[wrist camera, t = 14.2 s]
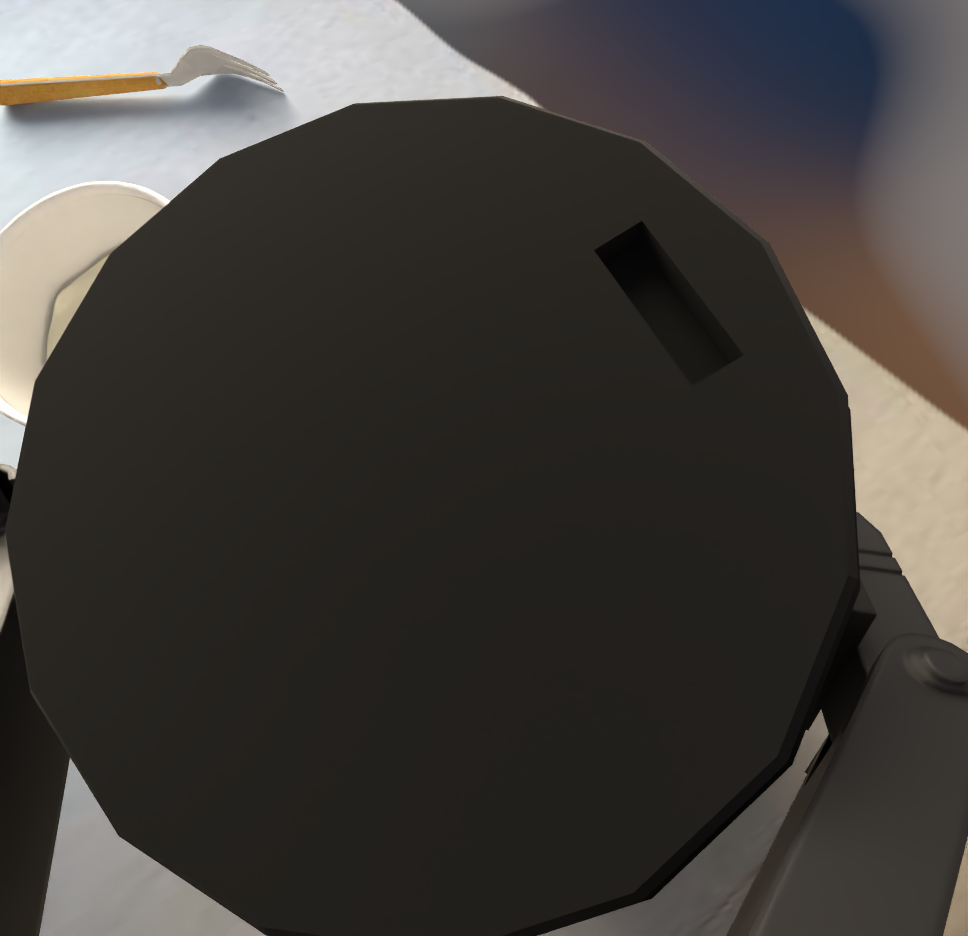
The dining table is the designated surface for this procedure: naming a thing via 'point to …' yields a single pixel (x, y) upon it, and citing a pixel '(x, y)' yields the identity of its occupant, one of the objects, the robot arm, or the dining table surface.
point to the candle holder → (57, 273)
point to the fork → (129, 79)
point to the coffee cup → (434, 524)
